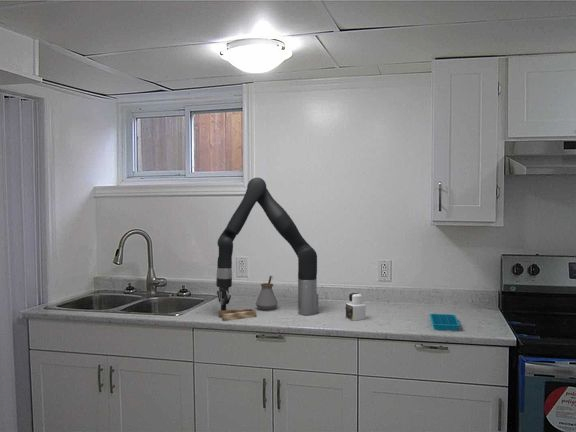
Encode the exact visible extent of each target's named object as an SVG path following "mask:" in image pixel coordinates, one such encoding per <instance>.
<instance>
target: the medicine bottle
mask: <svg viewBox="0 0 576 432" xmlns="http://www.w3.org/2000/svg"><path fill="white" fill-rule="evenodd" d="M348 296H349V300H348V301H349V302H346V303H345V318H346V319H348V320H350V321H354V322H357V321H364V320H365V321H366V320H367V318H366V314H367V313H366V312H367V310H366V309H367V307H366V304H365V303H363V295H362V293H359V292H353V293H350V294H349V295H348Z"/></svg>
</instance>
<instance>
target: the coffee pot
mask: <svg viewBox="0 0 576 432" xmlns="http://www.w3.org/2000/svg"><path fill="white" fill-rule="evenodd" d="M273 279H274V277H273V275H270V276H269V277H268V283H267V282H264V283H261V284H260V287H261V290H260V292H259V295H258V297H257V300H256V303H255V305H256V307H257V308H258V309H259V310H260V311H265V312H266V311H267V312H268V311H274V310H275V308H277V307H278V304H279V302H278V300H277V297H276V295H275V292H274V291H273V286H274V284H273V283H271V282H272V280H273Z"/></svg>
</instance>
